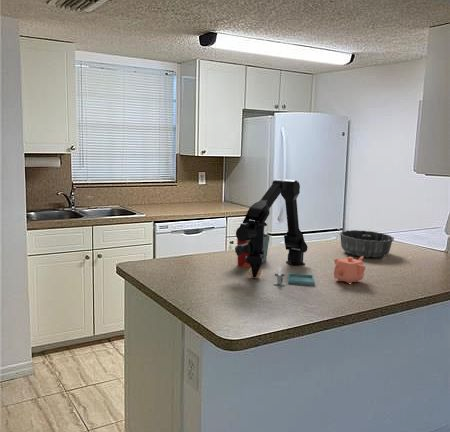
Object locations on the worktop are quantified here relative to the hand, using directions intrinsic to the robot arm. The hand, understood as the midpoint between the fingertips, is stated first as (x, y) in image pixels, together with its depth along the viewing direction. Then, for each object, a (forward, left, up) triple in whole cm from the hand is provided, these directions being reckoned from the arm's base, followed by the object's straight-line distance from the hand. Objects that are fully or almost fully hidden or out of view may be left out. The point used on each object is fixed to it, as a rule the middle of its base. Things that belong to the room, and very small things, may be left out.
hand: (254, 275), depth 194 cm
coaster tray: (-15, +11, -1) cm, 19 cm away
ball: (0, 0, -1) cm, 1 cm away
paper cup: (-6, -18, -1) cm, 19 cm away
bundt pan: (-76, -14, -1) cm, 77 cm away
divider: (-8, +6, -1) cm, 10 cm away
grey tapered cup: (-17, -24, -1) cm, 29 cm away
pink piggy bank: (-33, +19, -1) cm, 38 cm away
